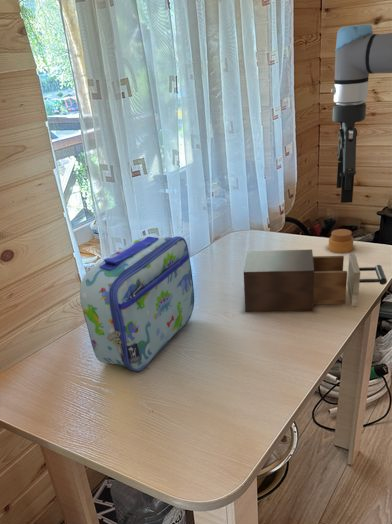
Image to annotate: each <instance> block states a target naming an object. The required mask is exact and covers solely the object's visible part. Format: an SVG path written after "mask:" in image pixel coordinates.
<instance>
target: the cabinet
mask: <svg viewBox="0 0 392 524" xmlns="http://www.w3.org/2000/svg"><path fill="white" fill-rule="evenodd" d="M313 254H314V253H313V249H282V250H281V249H280V250H248V251H246V255H245V262H244V266H243V267H244V268H243V288H244V289H243V291H244V312H245V313H288V312H290V313H291V312H292V313H295V312H296V313H297V312H300V313H301V312H310V313H311V312H313V311H314V304H313V293H314V263H313V256H314V255H313Z"/></svg>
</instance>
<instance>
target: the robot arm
mask: <svg viewBox="0 0 392 524" xmlns="http://www.w3.org/2000/svg"><path fill="white" fill-rule="evenodd" d="M334 52H335V54H334V55H335V58H334V82H333V83H334V87H332V88H331V89H330V92H331V94H333V102H334V103H335V104H334V105H333V106H332V122H334V123H335V124H339V125H340V126H339V128H338V148H337V155H336V156H337V161H338V162H337V169H336V170H337V171H336V189H340V204H344V203H345V204H348V203H351V204H352V203H353V196H354V182H355V175H356V174H357V170H356V168H357V167H356V165H357V163H356V162H357V161H356V160H357V137H358V129H357V127H356V126H355V124H356V123H360V122H363V121H365V119H366V114H367V113H366V112H367V103H366V101H367V100H368V91H369V75H370V74H392V32H387V33H374V32H373V26H372V24H371V23H367V24H355V25H345V26H341V27H340V28H339V29H338V31H337V32H336V42H335V49H334Z"/></svg>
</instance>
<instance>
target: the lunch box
mask: <svg viewBox="0 0 392 524" xmlns="http://www.w3.org/2000/svg"><path fill="white" fill-rule="evenodd" d="M193 278H194V277H193V270H192V263H191V258H190V252H189V247H188V243H187V241H186V239H185V238H184V237H183V236H179V235H178V236H176V235H175V236H174V237H171V236H163V235H157V234H145V235H142V236H141V237H138V238H136V239H135V240H133V241H131V242H129V243H128V244H126V245H125V246H123V247H122V248H120V249H119V250H117V251H115V252H114V253H113V254H111V255H110V256H108V257H106V258H103V260H102V261H101V262H99V263H98V264H97V265H94V266H93V267H91V268H90V269H88V271H87V272H86V273H85V274H84V276H83V277H82V280H81V282H80V285H79V298H80V304H81V308H82V313H83V317H84V320H85V325H86V327H87V331H88V335H89V340H90V343H91V348H92V350H93V353H94V355H95V358H96V359H97V360H98V361H99V362H100V363H104V364H113V365H118V366H122V367H125V368H126V369H128V370H129V371H135V372H140V371H143V370H144V369H145V368H146V367H148V365H149V364H150V362H152V360H153V359H154V358H155V357H156V356H157V355H158V354H159V353H160V352H161V350H162V349H163V348H164V347H166V345H167V344H168V343H169V342H170V341H171V339H172V338H173V337H174V336H175V335H176V334H177V333H178V332H179V331H180V330H181V329H182V328H184V327H185V326H186V324H187V323H189V321H190V320H191V318H192V314H193V312H194V307H195V289H194V280H193Z"/></svg>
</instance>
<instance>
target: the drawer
mask: <svg viewBox="0 0 392 524" xmlns="http://www.w3.org/2000/svg"><path fill="white" fill-rule="evenodd" d="M348 253H349V255H348V267H347V270H344V263H345V261H344V260H345V256H344V255H316V256H315V255H313V263H314V293H313V305H316V304H317V305H319V304H320V305H322V304H323V305H324V304H325V305H326V304H329V305H331V304H333V305H335V304H336V305H337V304H346V295H347V290H348V296H349V300H350V304H351V307H358V304H359V293H360V284H361V283H363V284H364V283H367V284H368V283H369V284H370V283H371V284H372V283H373V284H374V283H379V284H380V285H386V284H387V283H388V279H387V277H386V273H385V272H384V269H383V266H382V265H381V264H376V265H375V266H374V267H373V266H371V267H369V266H368V267H359V263H358V259H357V255H356V252H348ZM369 271H370V272H372V271H373V272H375V273H376V277H377V278H361V272H369Z"/></svg>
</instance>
